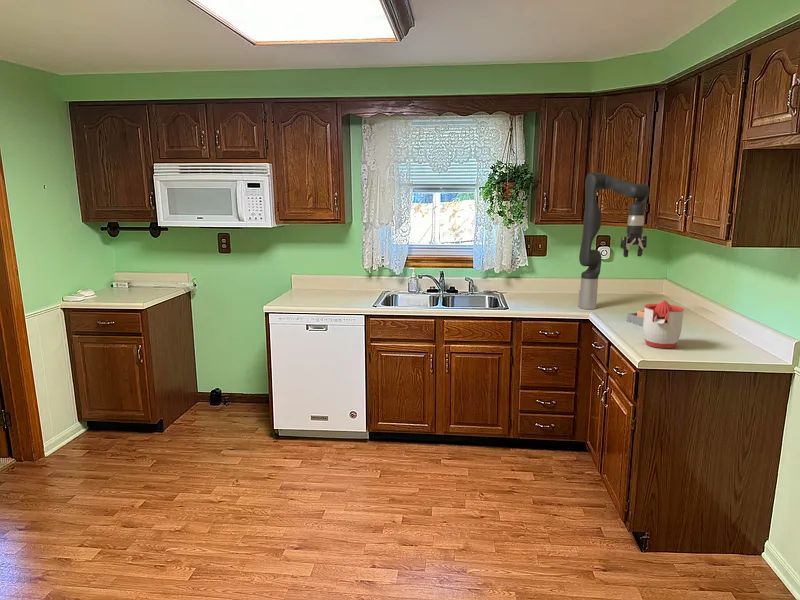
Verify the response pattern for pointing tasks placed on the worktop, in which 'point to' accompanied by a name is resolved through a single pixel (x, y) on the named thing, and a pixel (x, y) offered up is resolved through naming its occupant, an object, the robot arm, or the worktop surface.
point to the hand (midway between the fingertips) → (632, 256)
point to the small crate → (640, 313)
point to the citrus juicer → (662, 324)
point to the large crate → (635, 318)
